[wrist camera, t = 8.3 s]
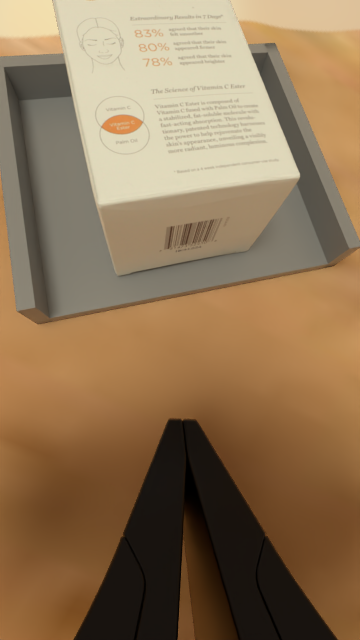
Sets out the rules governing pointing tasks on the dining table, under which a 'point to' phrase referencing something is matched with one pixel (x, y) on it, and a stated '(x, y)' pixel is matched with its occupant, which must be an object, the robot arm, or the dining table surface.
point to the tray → (83, 218)
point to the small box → (173, 128)
